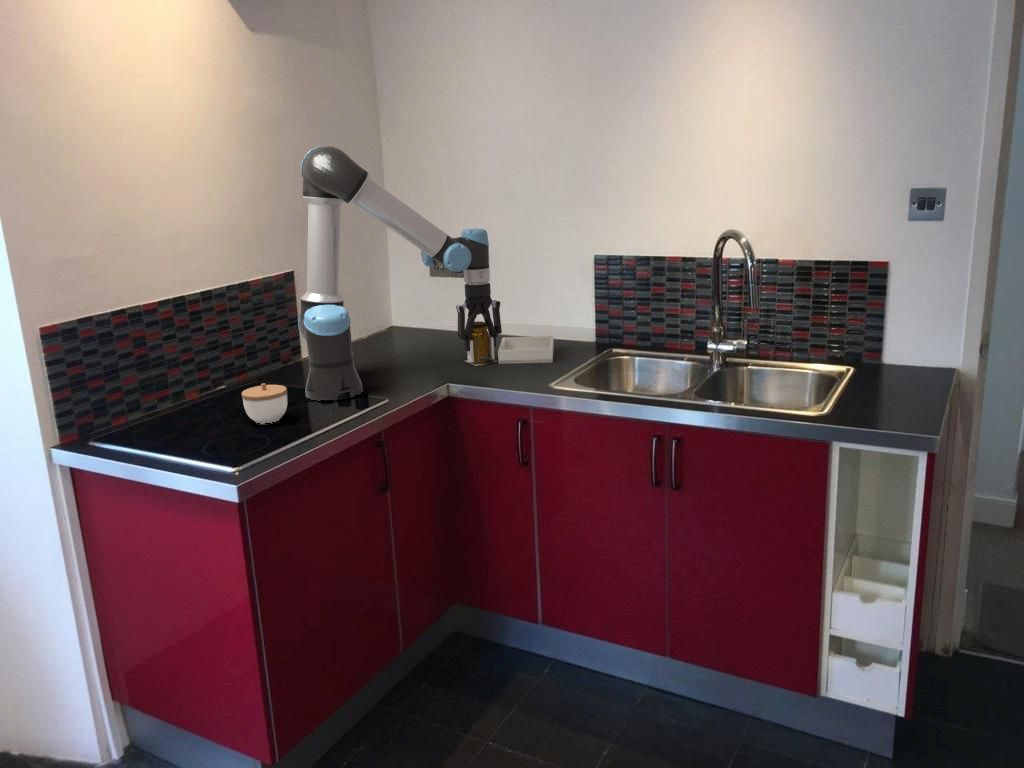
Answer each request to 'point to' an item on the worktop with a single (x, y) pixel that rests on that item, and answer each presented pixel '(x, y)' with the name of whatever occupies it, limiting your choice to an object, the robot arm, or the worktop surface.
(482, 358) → the condiment
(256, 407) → the lidded jar
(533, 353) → the tray
